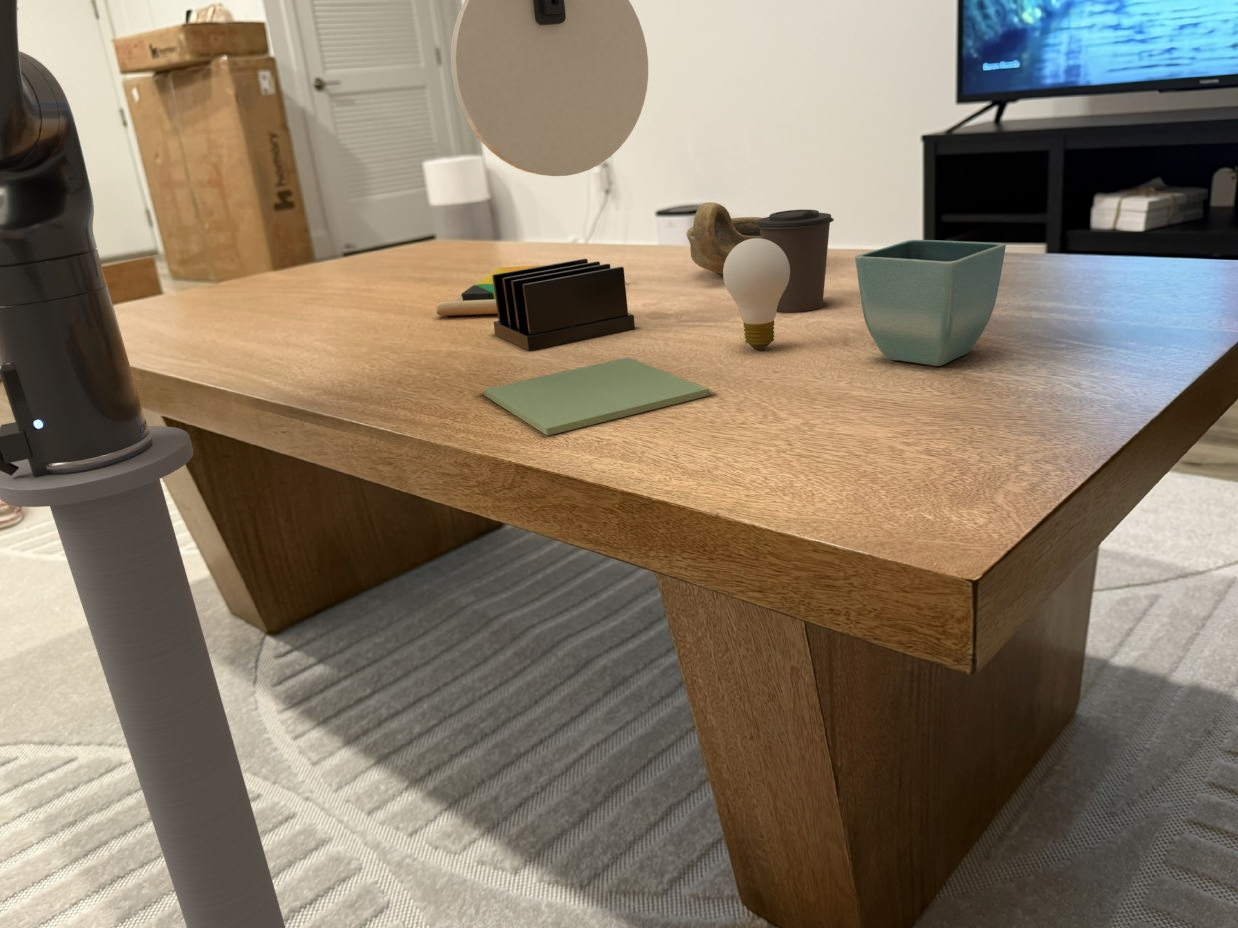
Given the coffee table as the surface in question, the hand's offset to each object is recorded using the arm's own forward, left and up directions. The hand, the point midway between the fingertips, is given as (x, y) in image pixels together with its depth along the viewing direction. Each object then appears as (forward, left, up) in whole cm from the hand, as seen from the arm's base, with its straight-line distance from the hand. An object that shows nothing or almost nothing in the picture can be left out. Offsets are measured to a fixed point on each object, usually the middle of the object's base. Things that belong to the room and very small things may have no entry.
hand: (546, 24), depth 74 cm
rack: (+7, +21, -28) cm, 36 cm away
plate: (0, 0, -11) cm, 11 cm away
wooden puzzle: (+11, +41, -29) cm, 51 cm away
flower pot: (+25, -14, -29) cm, 41 cm away
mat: (-1, -3, -28) cm, 29 cm away
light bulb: (+17, -1, -29) cm, 33 cm away
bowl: (+36, +32, -29) cm, 56 cm away
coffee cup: (+30, +11, -29) cm, 43 cm away
